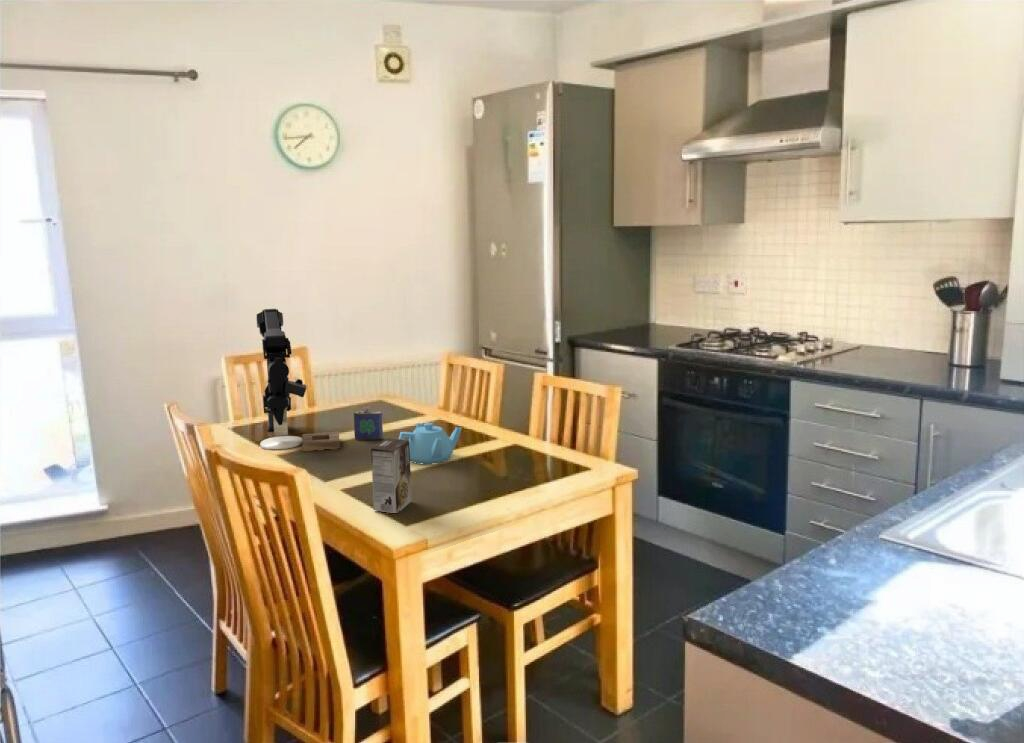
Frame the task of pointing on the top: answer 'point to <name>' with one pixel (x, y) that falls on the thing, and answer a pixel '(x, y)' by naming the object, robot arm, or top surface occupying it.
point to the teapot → (430, 443)
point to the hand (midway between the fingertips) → (280, 423)
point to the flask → (368, 425)
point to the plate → (281, 442)
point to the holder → (320, 441)
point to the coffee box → (391, 475)
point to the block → (283, 428)
